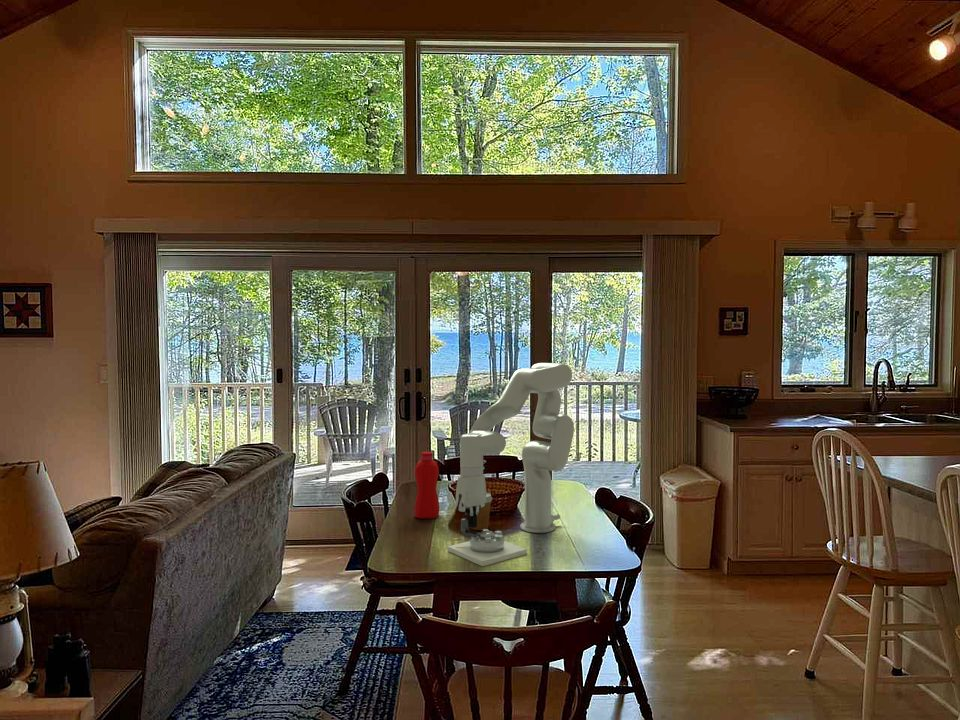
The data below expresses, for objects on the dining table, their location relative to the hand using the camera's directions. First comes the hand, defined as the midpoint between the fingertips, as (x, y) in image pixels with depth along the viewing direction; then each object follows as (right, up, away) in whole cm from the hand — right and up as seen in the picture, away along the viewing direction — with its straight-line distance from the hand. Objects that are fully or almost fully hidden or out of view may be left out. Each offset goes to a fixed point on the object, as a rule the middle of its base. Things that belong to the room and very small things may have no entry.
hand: (471, 526), depth 209 cm
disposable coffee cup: (+2, -6, +22) cm, 23 cm away
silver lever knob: (+3, -5, -5) cm, 8 cm away
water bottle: (-18, -6, +37) cm, 42 cm away
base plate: (+5, -7, -6) cm, 10 cm away
